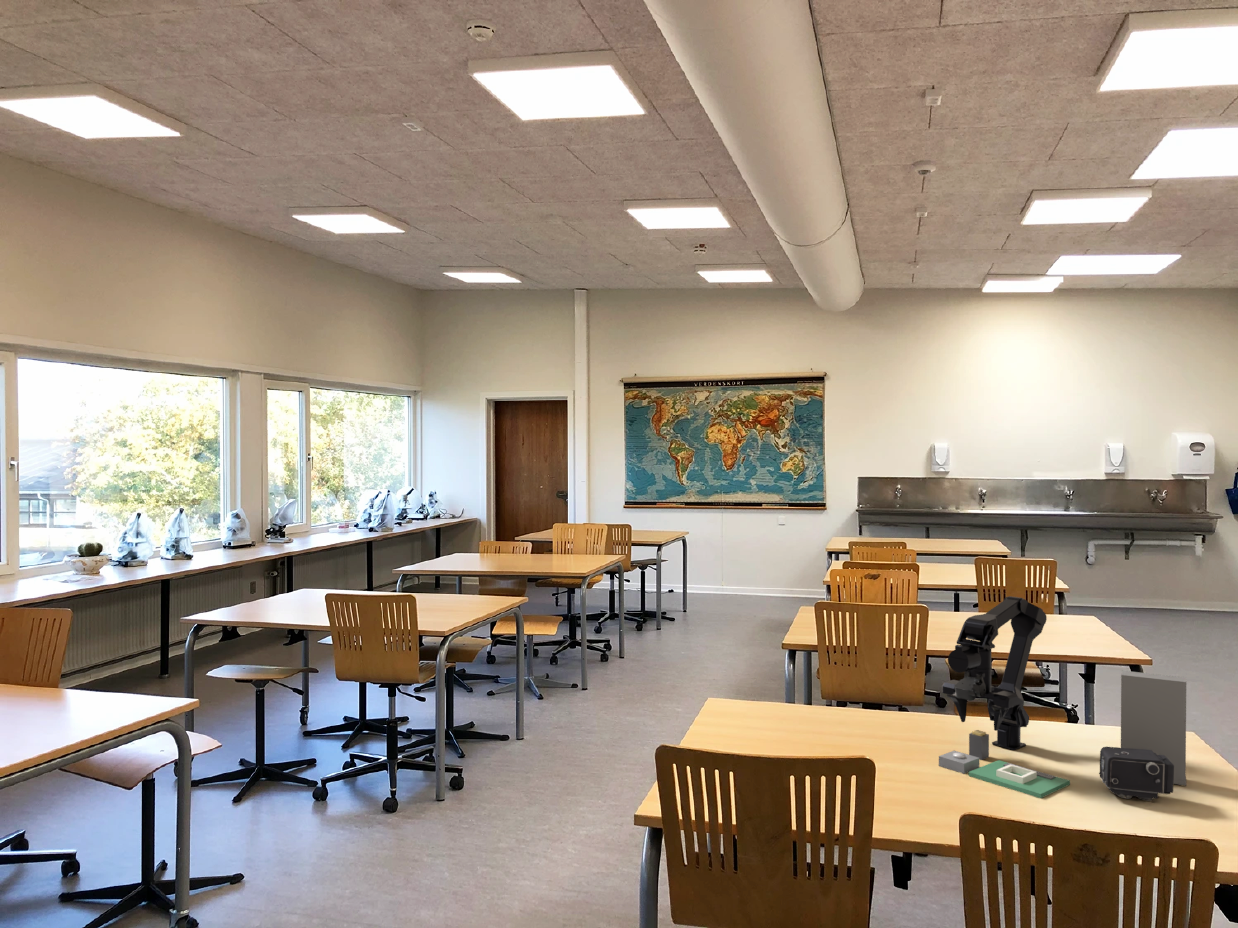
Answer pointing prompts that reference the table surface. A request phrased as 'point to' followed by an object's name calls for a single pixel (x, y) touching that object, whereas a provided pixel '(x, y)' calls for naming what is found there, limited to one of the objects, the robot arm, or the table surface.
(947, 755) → the grey push button
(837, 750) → the table surface
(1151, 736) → the upright grey panel
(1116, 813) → the table surface
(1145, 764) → the camera
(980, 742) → the plug
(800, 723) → the table surface
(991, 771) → the board
